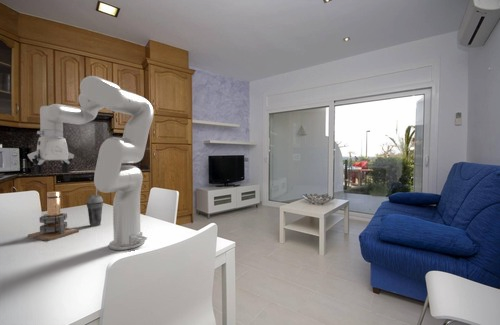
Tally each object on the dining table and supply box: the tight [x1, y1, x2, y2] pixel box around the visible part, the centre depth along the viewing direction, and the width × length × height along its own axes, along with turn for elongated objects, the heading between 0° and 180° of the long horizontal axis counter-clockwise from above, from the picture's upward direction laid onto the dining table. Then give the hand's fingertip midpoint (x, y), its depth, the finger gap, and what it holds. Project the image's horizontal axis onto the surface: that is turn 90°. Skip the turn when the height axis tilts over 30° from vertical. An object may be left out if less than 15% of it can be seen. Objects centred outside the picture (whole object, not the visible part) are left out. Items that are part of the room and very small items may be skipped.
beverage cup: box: [85, 187, 104, 228], centre depth 116 cm, size 7×7×20 cm
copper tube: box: [46, 190, 62, 234], centre depth 102 cm, size 5×5×18 cm
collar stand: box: [27, 212, 80, 242], centre depth 102 cm, size 14×12×8 cm
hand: (53, 173), depth 101 cm, fingers open, 9 cm apart
